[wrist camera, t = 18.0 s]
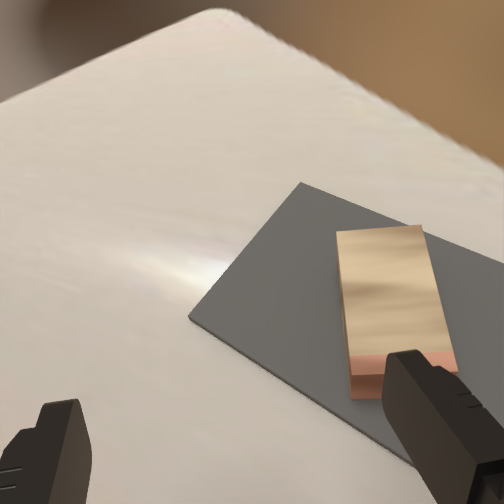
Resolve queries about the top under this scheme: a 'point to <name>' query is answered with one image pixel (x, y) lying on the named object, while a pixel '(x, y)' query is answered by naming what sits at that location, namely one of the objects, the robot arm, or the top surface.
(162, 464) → the top surface
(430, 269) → the beech block
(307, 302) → the rubber mat
